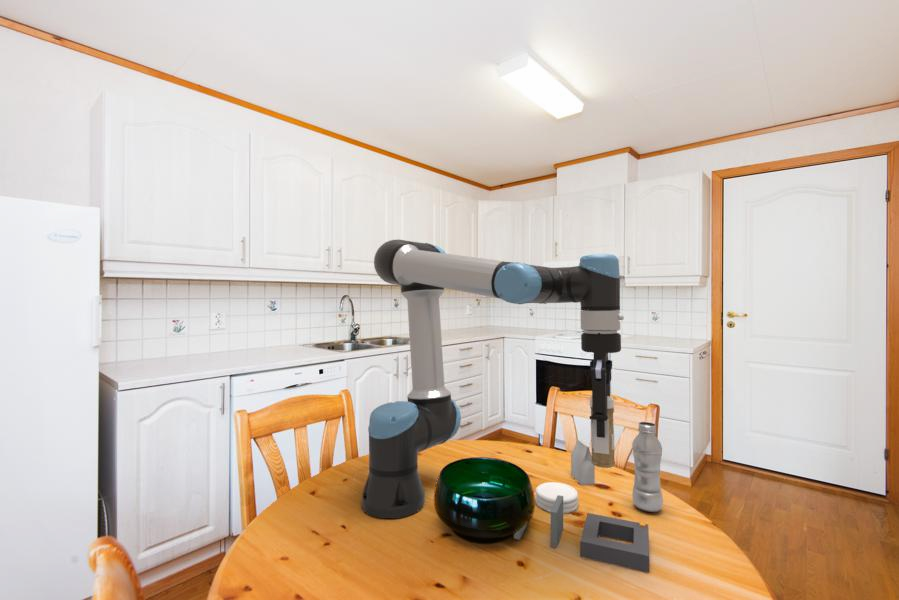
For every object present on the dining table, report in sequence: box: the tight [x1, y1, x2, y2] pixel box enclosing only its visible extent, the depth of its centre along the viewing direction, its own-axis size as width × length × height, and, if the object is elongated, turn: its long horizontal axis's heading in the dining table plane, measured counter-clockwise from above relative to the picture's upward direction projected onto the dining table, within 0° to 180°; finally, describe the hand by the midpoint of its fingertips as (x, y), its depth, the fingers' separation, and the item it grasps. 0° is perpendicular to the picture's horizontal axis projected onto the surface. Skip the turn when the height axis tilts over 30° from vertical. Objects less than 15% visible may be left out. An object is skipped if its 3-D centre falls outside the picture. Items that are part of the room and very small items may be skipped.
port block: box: [579, 512, 650, 574], centre depth 86 cm, size 12×12×3 cm
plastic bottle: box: [631, 421, 664, 513], centre depth 101 cm, size 6×7×20 cm
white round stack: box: [535, 481, 579, 515], centre depth 104 cm, size 10×10×4 cm
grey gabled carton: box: [570, 439, 596, 486], centre depth 118 cm, size 4×7×10 cm, turn 7°
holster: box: [513, 495, 564, 549], centre depth 91 cm, size 9×8×7 cm
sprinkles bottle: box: [589, 395, 616, 469], centre depth 86 cm, size 5×5×14 cm
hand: (602, 448), depth 86 cm, fingers closed on sprinkles bottle, 4 cm apart
